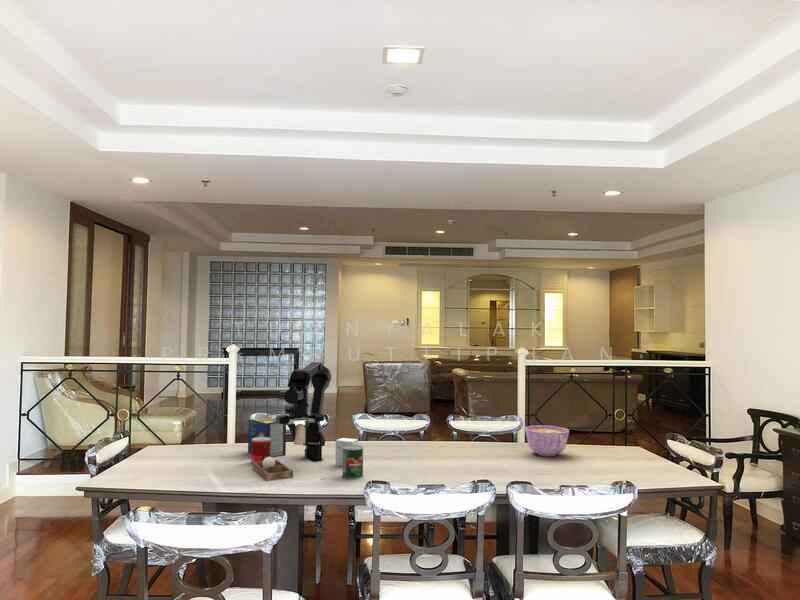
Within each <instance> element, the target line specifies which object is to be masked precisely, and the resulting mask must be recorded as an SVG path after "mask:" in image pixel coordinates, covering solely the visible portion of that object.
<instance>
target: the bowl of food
mask: <svg viewBox="0 0 800 600" xmlns="http://www.w3.org/2000/svg"><path fill="white" fill-rule="evenodd" d="M524 432H525V435H526V436H525V437H526V440H527V444H528V447H529V448H530V450H531V451H533V452H534V453H537V455H538V456H542V457H556V456H557V455H558V454H560V453H562V452H564V450H566V446H567V442H568V439H569V434H570V429H568V428H565V427H562V426H557V425H544V424H543V425H540V424H539V425H528V426H524Z"/></svg>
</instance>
